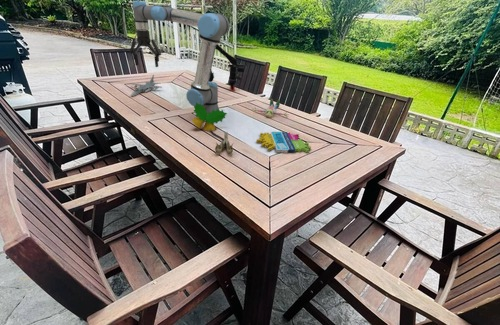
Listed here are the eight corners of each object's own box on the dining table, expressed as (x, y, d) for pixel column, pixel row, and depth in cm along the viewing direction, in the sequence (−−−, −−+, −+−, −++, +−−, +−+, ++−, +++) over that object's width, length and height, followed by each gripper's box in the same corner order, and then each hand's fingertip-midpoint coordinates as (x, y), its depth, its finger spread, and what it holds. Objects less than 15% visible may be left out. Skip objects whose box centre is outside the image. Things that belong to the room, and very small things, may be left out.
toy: (292, 100, 208) (288, 110, 182) (291, 109, 211) (287, 120, 186) (258, 96, 213) (250, 105, 187) (258, 105, 216) (249, 115, 190)
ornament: (218, 133, 171) (224, 110, 169) (221, 134, 163) (227, 111, 161) (186, 125, 162) (192, 101, 160) (189, 126, 155) (195, 101, 153)
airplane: (124, 86, 239) (122, 75, 233) (160, 84, 252) (158, 73, 247) (129, 98, 210) (126, 86, 205) (168, 95, 223) (167, 83, 218)
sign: (313, 150, 142) (258, 149, 139) (312, 153, 143) (258, 152, 140) (301, 132, 164) (254, 130, 161) (301, 134, 165) (254, 133, 162)
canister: (233, 89, 255) (233, 84, 253) (235, 90, 252) (235, 86, 250) (229, 89, 253) (229, 85, 251) (231, 91, 250) (231, 86, 248)
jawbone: (234, 135, 144) (233, 125, 135) (233, 160, 138) (232, 151, 129) (217, 135, 144) (216, 125, 135) (216, 160, 138) (214, 150, 129)
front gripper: (164, 31, 165) (167, 66, 175) (126, 28, 166) (131, 63, 177) (159, 31, 158) (163, 68, 168) (120, 28, 160) (126, 65, 170)
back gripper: (242, 74, 237) (241, 91, 245) (240, 70, 253) (240, 86, 261) (229, 73, 236) (229, 90, 243) (229, 69, 252) (228, 86, 260)
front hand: (147, 66), depth 173 cm, fingers open, 13 cm apart
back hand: (232, 88), depth 252 cm, fingers open, 5 cm apart
